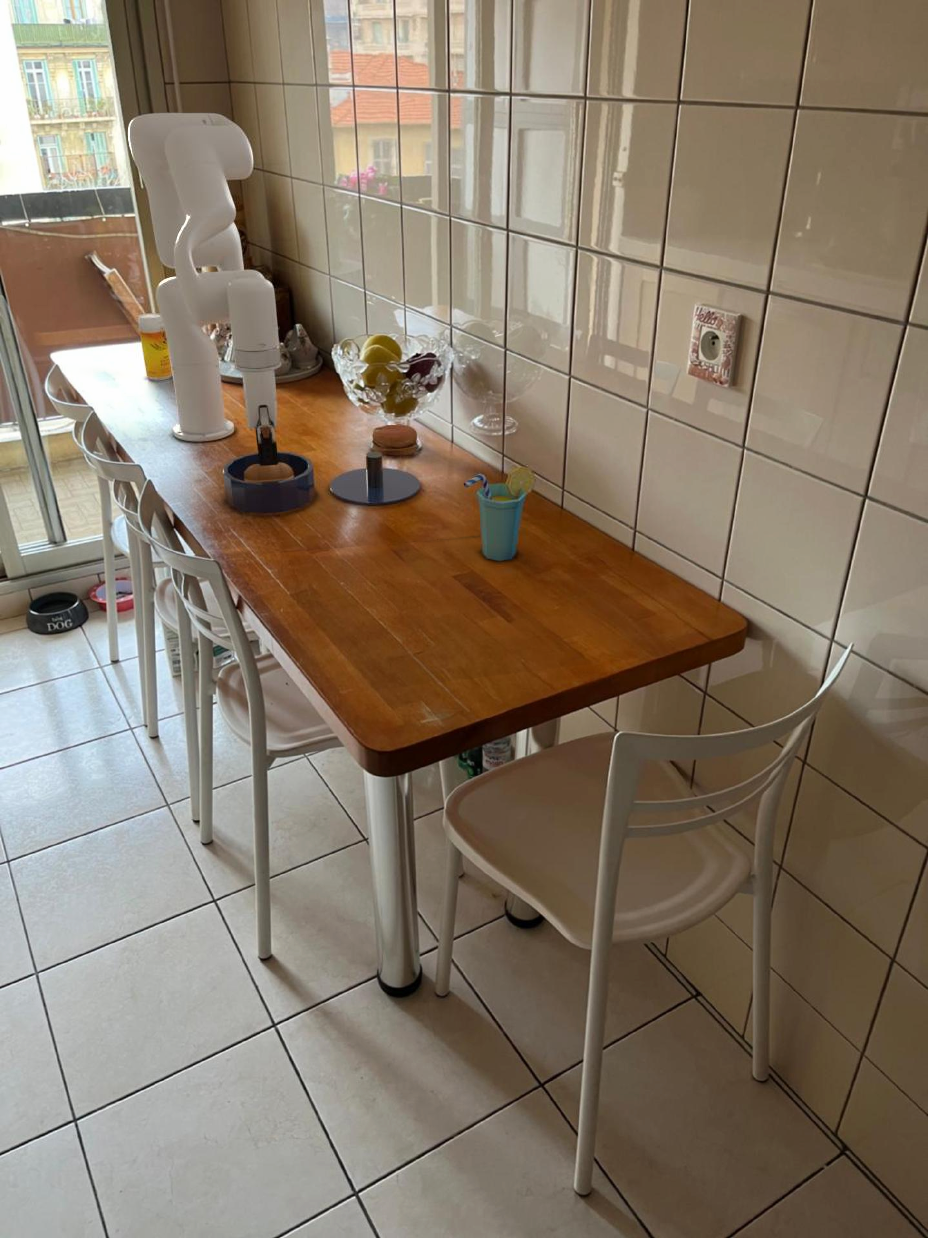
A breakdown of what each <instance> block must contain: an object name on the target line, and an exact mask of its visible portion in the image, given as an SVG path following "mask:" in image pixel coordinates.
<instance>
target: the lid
mask: <svg viewBox="0 0 928 1238" xmlns="http://www.w3.org/2000/svg"><path fill="white" fill-rule="evenodd" d="M383 461H384V460H383V454H382V453H380V452H376V451H369V452H367V453H365V468H364V467H363V468H357V469H352V470H349V471H346V472H342V473H341V474H338V475H337V476H335V477H334V478H333V479H332V480H331V481H330V483H329V491H330V493H331V495H332V496H334V497H335V498H336V499H338V500H340V501H343V502H345V503H349V504H354V505H360V506H387V505H394V504H398V503H402V502H405V501H407V500H410V499H412V498H413V497H415V496H416V495H417V494H418V493H419V492H420V490H421V483H420V480H419V479H418V478H417V477H416V476H415V475H413V474H411V473H410V472H407V471H406V470H405V471H404V470H400V469H396V468H390V467H389V468H388V467H383V466H384V463H383Z"/></svg>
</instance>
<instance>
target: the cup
mask: <svg viewBox="0 0 928 1238" xmlns="http://www.w3.org/2000/svg"><path fill="white" fill-rule="evenodd" d="M479 481H481V484H482V485H481V486H482V487H481V488H480V489H479V490H478V491H477V492H476V498H477V500H478V505H479V518H480V519H479V521H480V535H481V550H482V554H483V555H484V556H485V557H486V559H488V560H493V561H497V562H500V561H507V560H511V559H512V558H513V557H514V556H515V555H516V553H517V548H518V547H517V546H518V541H519V533H520V526H521V519H522V513H523V506H524V502H525V501H526V498H527V495H529V494H531V493H532V491H533V489H534V486H535V484H536V477H535V475H534V472H533V469H531V468H528V467H525V466H521V465H519V466H517V467H516V468H514V469H513V470H511V471H509V473H508V476H507V478H506V481H505V483H503V482H500V483H491V484H489V483H488V480H487V478H486V476H485V475H484V474H481V473H478V474H476V475H475V476H473V477H471V478H469V479H468V480H466V481H464V482H463V485H464V487H465V488H469V487H471V486H472V485H473V484H475V483H478V482H479Z"/></svg>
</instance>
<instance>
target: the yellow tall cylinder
mask: <svg viewBox="0 0 928 1238" xmlns="http://www.w3.org/2000/svg"><path fill="white" fill-rule="evenodd" d="M137 324H138V331H139V336H140V342H141V349H142V355H143V361H144V368H145V374H146V377H148V378H149V379H150V380H151V381H165V380H169V379H170V378H171V377H172V376H173V375H172V368H171V361H170V355H169V349H168V343H167V338H166V333H165V329H164V325H163V322H162V318H161V315H160V313H155V312H151V313H149V312H148V313H143V314H140V315H138V320H137Z"/></svg>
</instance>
